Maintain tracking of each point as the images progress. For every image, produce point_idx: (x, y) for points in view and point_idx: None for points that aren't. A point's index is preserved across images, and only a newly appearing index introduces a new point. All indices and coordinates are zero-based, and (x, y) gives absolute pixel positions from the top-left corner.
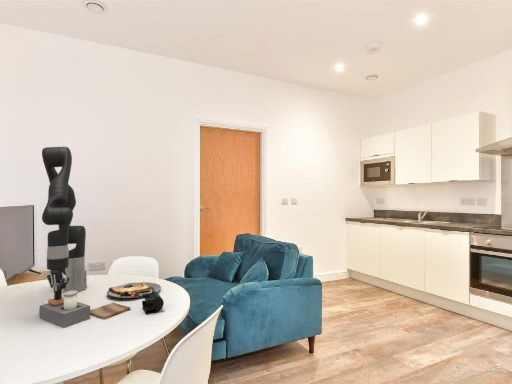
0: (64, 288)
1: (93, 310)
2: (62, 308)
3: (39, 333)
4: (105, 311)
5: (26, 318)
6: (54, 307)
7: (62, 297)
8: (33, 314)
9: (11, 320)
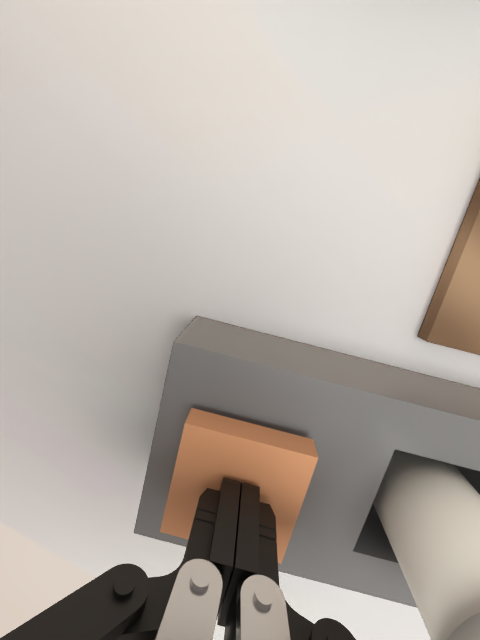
0: (340, 627)
1: (473, 312)
2: (359, 522)
3: (361, 606)
4: None
5: (93, 483)
6: (295, 542)
7: (232, 450)
8: (67, 429)
9: (45, 520)
